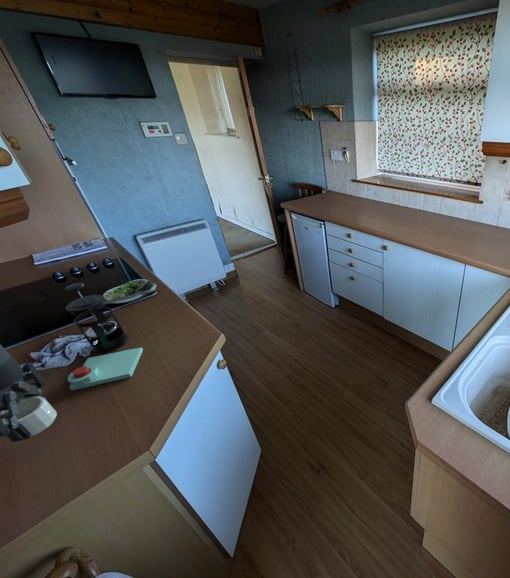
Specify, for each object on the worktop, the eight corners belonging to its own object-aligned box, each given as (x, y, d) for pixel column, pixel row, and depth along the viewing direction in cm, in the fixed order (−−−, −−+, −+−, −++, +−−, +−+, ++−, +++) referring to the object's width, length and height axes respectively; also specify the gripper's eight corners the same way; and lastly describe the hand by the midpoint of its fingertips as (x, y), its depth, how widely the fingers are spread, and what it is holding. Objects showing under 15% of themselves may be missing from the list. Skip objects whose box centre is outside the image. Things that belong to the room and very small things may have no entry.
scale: (69, 391, 82) (63, 384, 80) (88, 361, 91) (83, 354, 90) (131, 377, 86) (126, 370, 85) (143, 350, 96) (139, 343, 94)
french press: (128, 346, 97) (93, 288, 85) (91, 358, 92) (48, 298, 80) (128, 328, 105) (96, 272, 93) (94, 338, 100) (55, 281, 88)
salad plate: (112, 313, 112) (106, 303, 110) (91, 300, 120) (85, 290, 117) (164, 290, 127) (160, 281, 124) (143, 280, 134) (139, 271, 132)
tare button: (73, 379, 82) (70, 375, 81) (78, 371, 85) (75, 367, 84) (87, 376, 83) (84, 372, 82) (92, 368, 86) (89, 364, 85)
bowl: (5, 444, 56) (-13, 429, 54) (25, 416, 61) (9, 401, 59) (48, 433, 58) (32, 418, 56) (64, 407, 63) (51, 392, 61)
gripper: (-24, 343, 55) (31, 400, 64) (-95, 405, 44) (-17, 463, 53) (29, 334, 57) (74, 390, 66) (-26, 391, 46) (38, 449, 55)
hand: (34, 422), depth 59 cm, fingers closed on bowl, 6 cm apart
